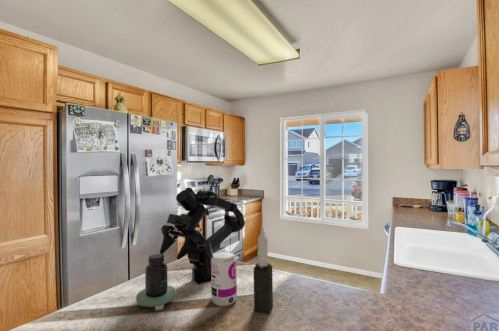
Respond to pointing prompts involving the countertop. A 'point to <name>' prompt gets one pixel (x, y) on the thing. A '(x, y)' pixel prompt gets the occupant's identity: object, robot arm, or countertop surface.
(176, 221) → the robot arm
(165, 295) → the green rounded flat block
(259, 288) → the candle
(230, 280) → the supplement can
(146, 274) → the supplement bottle
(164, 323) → the countertop surface
